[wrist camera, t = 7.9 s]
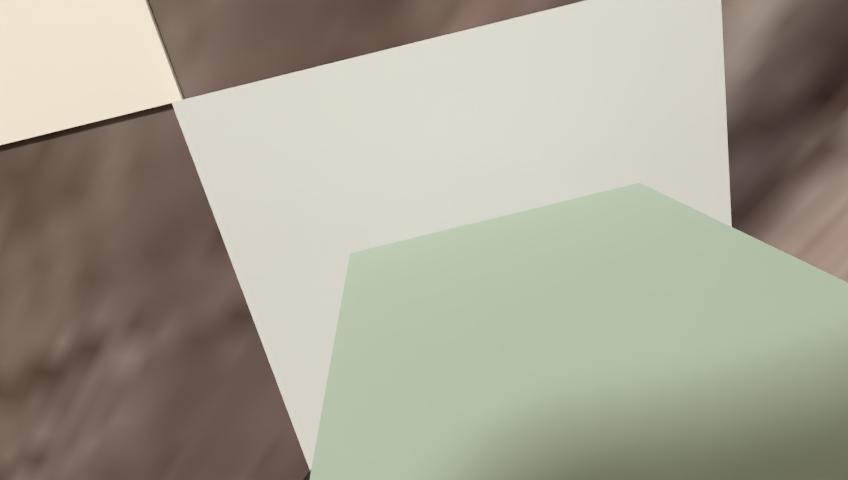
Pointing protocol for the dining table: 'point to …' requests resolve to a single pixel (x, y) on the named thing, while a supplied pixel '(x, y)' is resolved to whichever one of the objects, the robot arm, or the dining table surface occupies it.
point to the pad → (449, 151)
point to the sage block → (587, 352)
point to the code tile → (78, 64)
